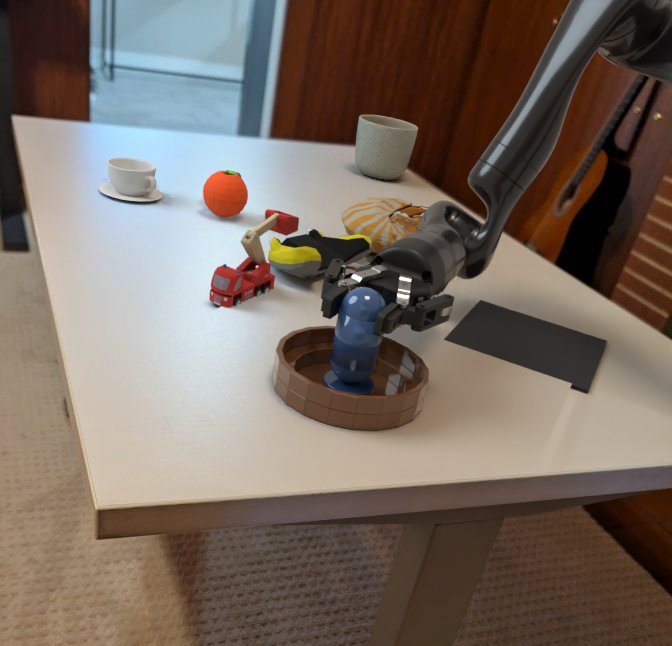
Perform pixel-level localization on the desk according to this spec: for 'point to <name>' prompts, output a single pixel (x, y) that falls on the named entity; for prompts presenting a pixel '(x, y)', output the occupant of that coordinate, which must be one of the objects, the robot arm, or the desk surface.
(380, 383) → the bowl
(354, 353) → the blue pill figure
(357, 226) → the nautilus shell
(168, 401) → the desk surface
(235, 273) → the toy fire truck
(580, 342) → the mat
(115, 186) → the teacup
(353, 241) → the black yellow sneaker
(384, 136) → the planter
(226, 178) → the clementine
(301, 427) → the desk surface
